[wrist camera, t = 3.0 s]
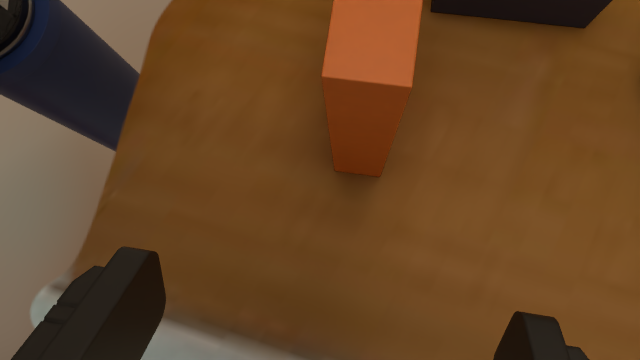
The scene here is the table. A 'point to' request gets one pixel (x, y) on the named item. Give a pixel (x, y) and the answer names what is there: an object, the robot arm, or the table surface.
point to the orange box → (368, 78)
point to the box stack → (527, 10)
